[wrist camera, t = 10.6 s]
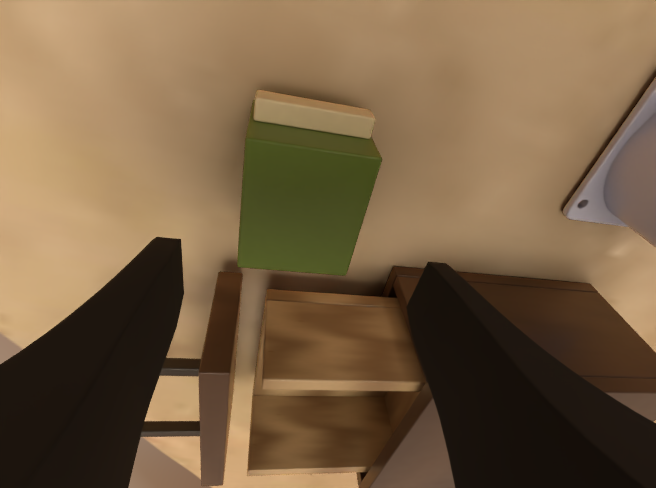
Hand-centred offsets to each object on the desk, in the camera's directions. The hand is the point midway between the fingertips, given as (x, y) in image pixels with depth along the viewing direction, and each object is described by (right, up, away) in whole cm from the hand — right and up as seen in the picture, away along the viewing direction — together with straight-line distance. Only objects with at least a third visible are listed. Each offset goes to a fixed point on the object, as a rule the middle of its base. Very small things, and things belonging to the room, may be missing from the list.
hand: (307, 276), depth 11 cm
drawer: (-2, -5, +12) cm, 13 cm away
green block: (-1, +4, +6) cm, 7 cm away
